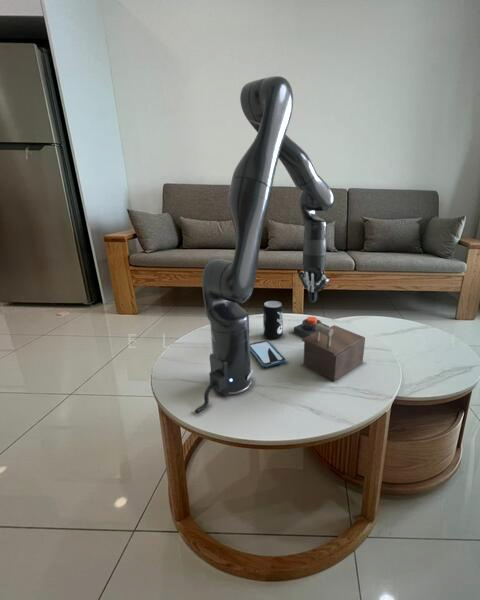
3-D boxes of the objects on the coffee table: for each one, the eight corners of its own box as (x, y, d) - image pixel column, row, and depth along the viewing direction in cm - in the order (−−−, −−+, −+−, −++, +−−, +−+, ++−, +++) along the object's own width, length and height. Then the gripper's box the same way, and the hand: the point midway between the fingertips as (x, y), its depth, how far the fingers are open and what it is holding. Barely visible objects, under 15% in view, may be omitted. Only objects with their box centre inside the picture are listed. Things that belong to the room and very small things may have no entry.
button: (312, 326, 111) (312, 321, 111) (304, 322, 114) (304, 318, 113) (318, 323, 114) (319, 318, 113) (311, 320, 116) (311, 315, 116)
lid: (334, 356, 84) (335, 336, 82) (302, 341, 91) (302, 322, 89) (365, 339, 94) (367, 321, 92) (334, 327, 101) (335, 310, 99)
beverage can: (273, 342, 107) (273, 309, 103) (259, 336, 111) (258, 304, 107) (286, 335, 112) (286, 303, 108) (272, 330, 116) (272, 299, 112)
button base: (310, 340, 109) (310, 329, 108) (293, 332, 114) (293, 322, 113) (328, 331, 116) (329, 321, 115) (312, 324, 121) (312, 314, 120)
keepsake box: (334, 381, 87) (336, 356, 84) (303, 365, 94) (304, 341, 92) (362, 363, 96) (365, 340, 94) (332, 349, 104) (334, 327, 101)
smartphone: (267, 339, 107) (286, 360, 95) (267, 342, 107) (286, 363, 95) (246, 344, 104) (263, 366, 91) (246, 346, 104) (263, 368, 92)
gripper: (292, 250, 107) (291, 298, 113) (322, 257, 98) (319, 309, 104) (307, 247, 112) (306, 294, 118) (337, 253, 103) (334, 303, 109)
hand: (312, 301), depth 111 cm, fingers closed
